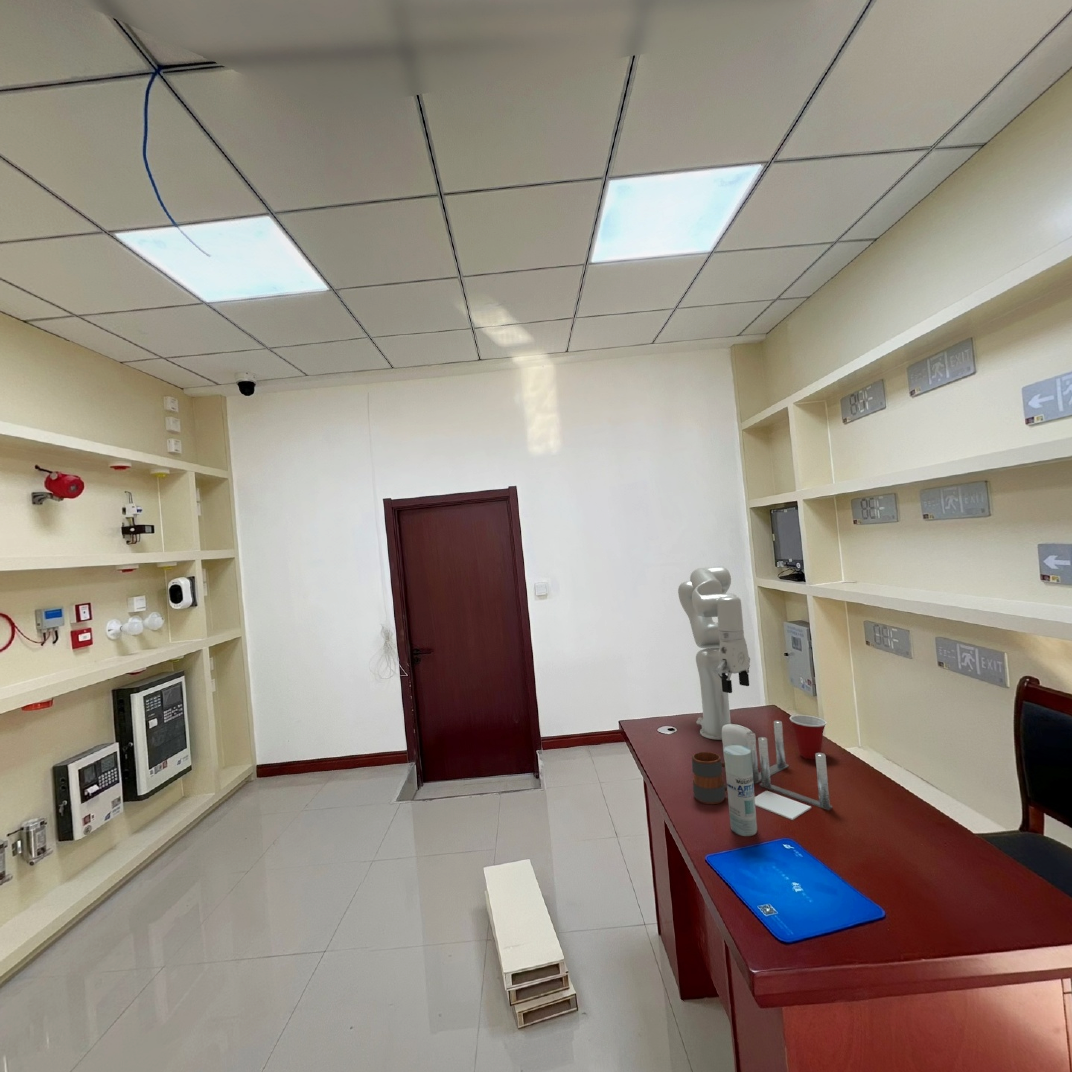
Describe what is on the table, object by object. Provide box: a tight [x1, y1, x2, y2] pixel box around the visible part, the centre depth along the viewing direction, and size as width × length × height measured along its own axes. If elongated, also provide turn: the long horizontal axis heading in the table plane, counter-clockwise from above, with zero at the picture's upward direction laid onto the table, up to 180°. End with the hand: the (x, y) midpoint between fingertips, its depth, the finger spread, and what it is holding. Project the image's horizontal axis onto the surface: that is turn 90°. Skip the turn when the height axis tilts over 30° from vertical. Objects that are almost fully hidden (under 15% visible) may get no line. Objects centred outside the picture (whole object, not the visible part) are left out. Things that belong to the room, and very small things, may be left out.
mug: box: [691, 751, 728, 805], centre depth 155 cm, size 9×12×12 cm
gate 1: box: [747, 720, 789, 784], centre depth 168 cm, size 3×17×14 cm, turn 124°
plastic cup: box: [789, 714, 827, 760], centre depth 178 cm, size 11×11×12 cm
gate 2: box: [757, 736, 833, 811], centre depth 152 cm, size 20×2×14 cm, turn 34°
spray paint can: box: [723, 745, 758, 837], centre depth 138 cm, size 6×6×20 cm
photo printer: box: [721, 723, 754, 761], centre depth 176 cm, size 10×4×12 cm, turn 39°
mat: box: [755, 790, 812, 821], centre depth 148 cm, size 13×9×1 cm
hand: (736, 688), depth 175 cm, fingers open, 9 cm apart
